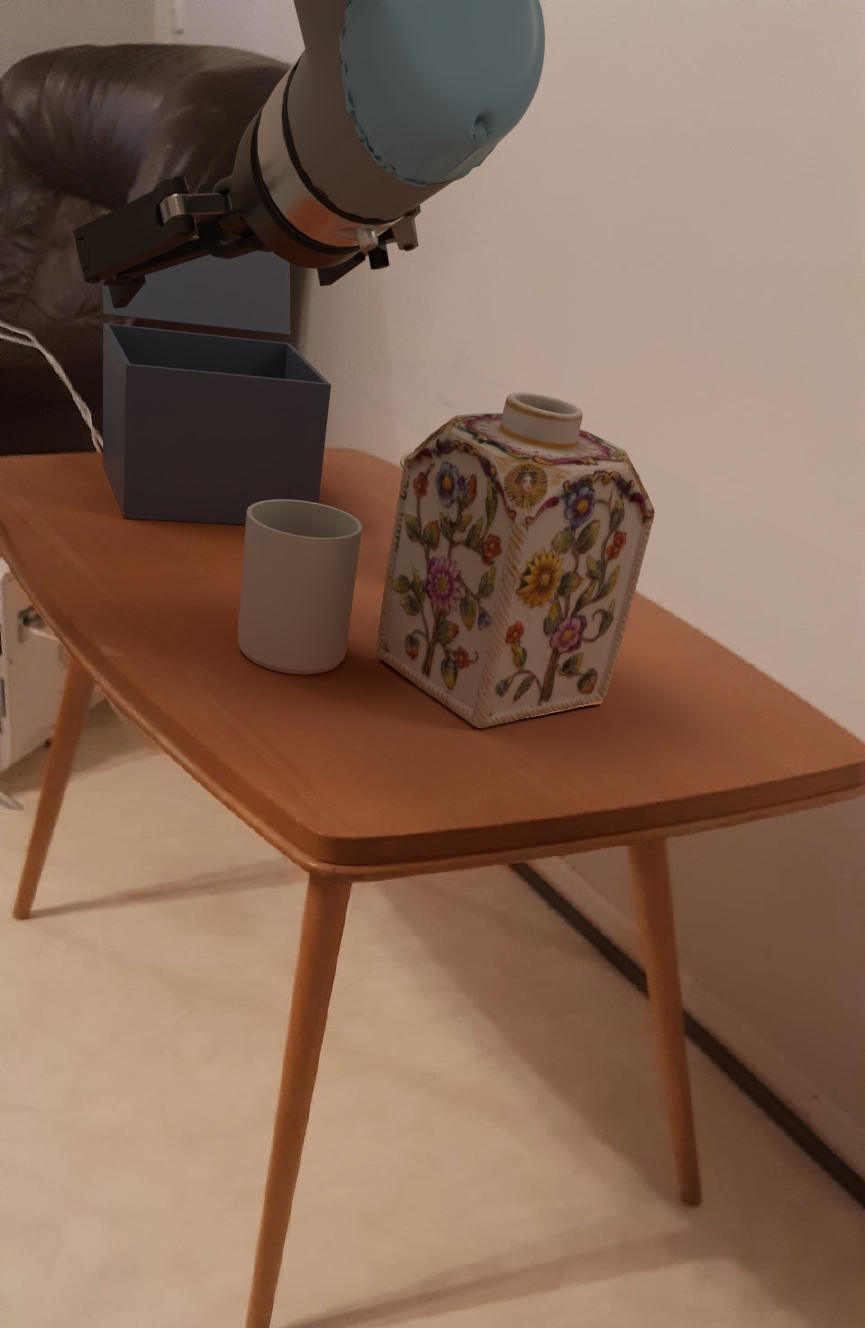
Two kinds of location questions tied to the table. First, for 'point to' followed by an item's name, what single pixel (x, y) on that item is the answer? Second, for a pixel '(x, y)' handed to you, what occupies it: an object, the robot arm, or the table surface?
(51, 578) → the table surface
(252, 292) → the flap
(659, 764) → the table surface
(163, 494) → the carton
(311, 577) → the cup
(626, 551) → the decorative jar
